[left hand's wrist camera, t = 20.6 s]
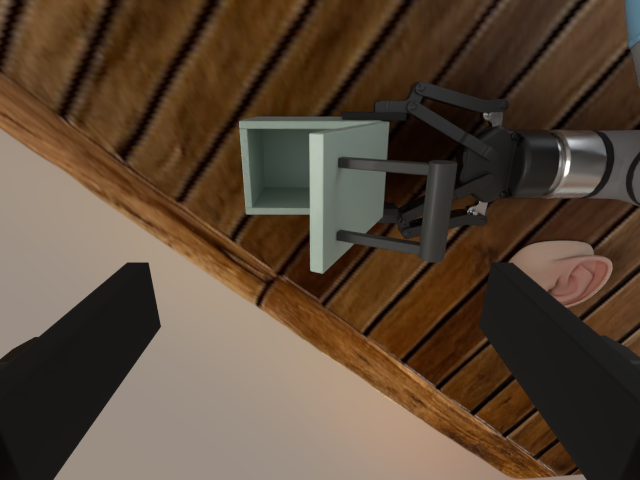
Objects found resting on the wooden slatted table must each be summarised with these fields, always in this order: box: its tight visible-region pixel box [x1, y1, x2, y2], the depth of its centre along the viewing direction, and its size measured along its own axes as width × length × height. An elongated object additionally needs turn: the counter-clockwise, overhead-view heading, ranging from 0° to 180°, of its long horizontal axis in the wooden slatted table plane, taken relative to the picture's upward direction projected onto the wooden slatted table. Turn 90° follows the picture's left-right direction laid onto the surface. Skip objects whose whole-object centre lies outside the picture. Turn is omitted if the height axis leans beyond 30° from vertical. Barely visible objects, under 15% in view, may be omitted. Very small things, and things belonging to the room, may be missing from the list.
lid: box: [309, 122, 457, 273], centre depth 28 cm, size 15×10×9 cm
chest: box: [239, 116, 383, 214], centre depth 42 cm, size 14×10×10 cm
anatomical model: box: [508, 241, 612, 308], centre depth 51 cm, size 13×4×12 cm
